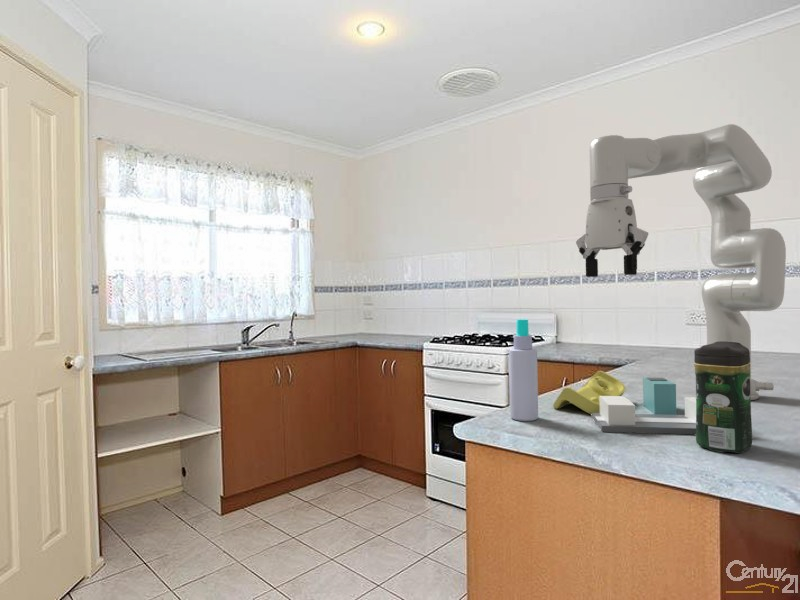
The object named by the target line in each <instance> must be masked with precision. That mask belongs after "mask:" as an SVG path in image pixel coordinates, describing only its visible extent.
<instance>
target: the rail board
mask: <svg viewBox="0 0 800 600" xmlns="http://www.w3.org/2000/svg"><path fill="white" fill-rule="evenodd" d="M599 401H600V413H592V415H591V419H592V418H593V419H594V421H595V422H596V423H595V422H594V421H593V422H594V423H595V425H596V424H597V425H598V426H597V425H596V426H597V428H598V429H599V428H600V429H601V430H600V429H599V430H600V432H601V431H604V432H603V433H623V432H635V433H634V434H657V433H671V434H670V435H691V434H696V396H694V397H692V396H689V397H688V396H685V397H684V414H676V415H663V414H653V413H652V414H651V413H636V405H635V404H634V403H633V402H632V401H631V400H629V399H628V398H626V397H625V396H623V395H622V396H599ZM593 419H592V420H593ZM636 432H637V433H636ZM672 433H673V434H672Z"/></svg>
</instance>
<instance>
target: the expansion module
mask: <svg viewBox="0 0 800 600" xmlns="http://www.w3.org/2000/svg"><path fill="white" fill-rule="evenodd" d="M642 400H643V402H642V403H643V407H644V408H646V410H648V411H649V412H650V411H651V412H650V413H652V414H663V415H677V384H676V383H674V382H673V381H670V380H668V379H667V378H665V377H660V376H659V377H651V376H649V377H647V376H645V377H644V376H643V377H642Z"/></svg>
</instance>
